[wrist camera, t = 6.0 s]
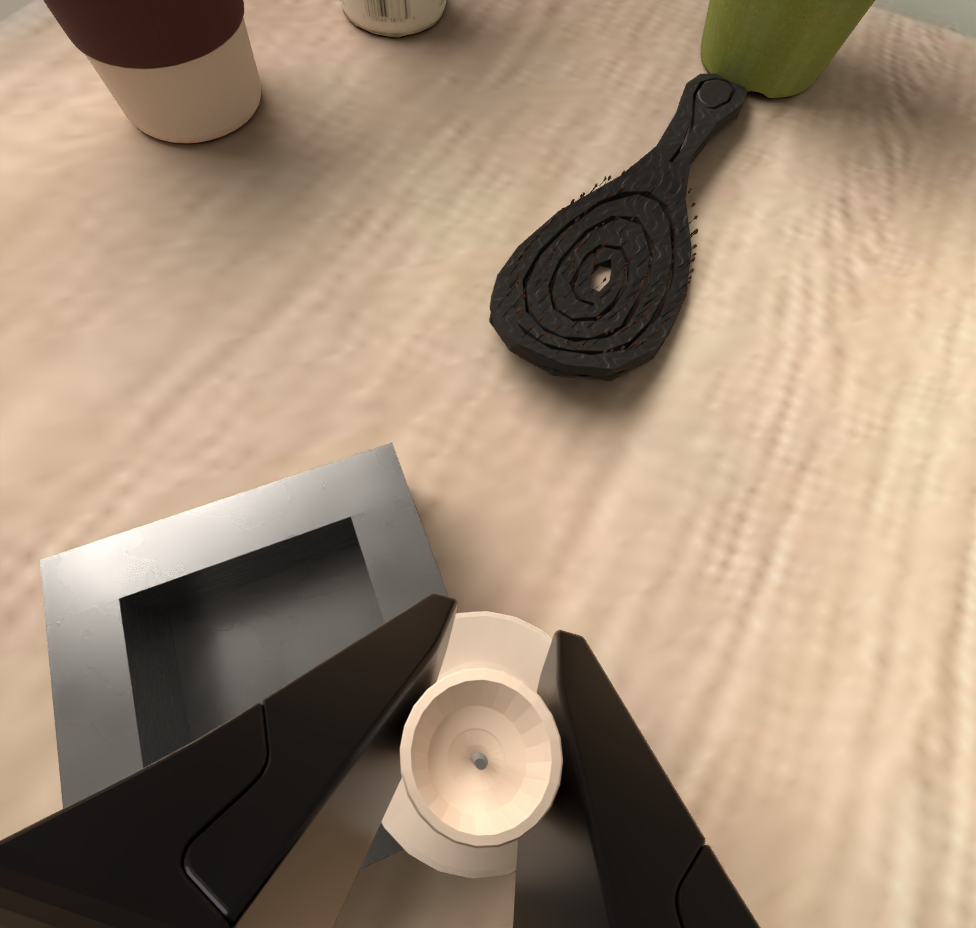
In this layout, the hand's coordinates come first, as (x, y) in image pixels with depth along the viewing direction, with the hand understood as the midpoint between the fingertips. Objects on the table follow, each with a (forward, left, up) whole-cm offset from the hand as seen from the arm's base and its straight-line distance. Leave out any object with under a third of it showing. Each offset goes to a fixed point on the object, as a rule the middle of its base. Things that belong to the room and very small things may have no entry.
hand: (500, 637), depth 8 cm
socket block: (+2, +6, -12) cm, 14 cm away
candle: (-1, +1, -7) cm, 7 cm away
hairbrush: (+18, -16, -13) cm, 27 cm away
